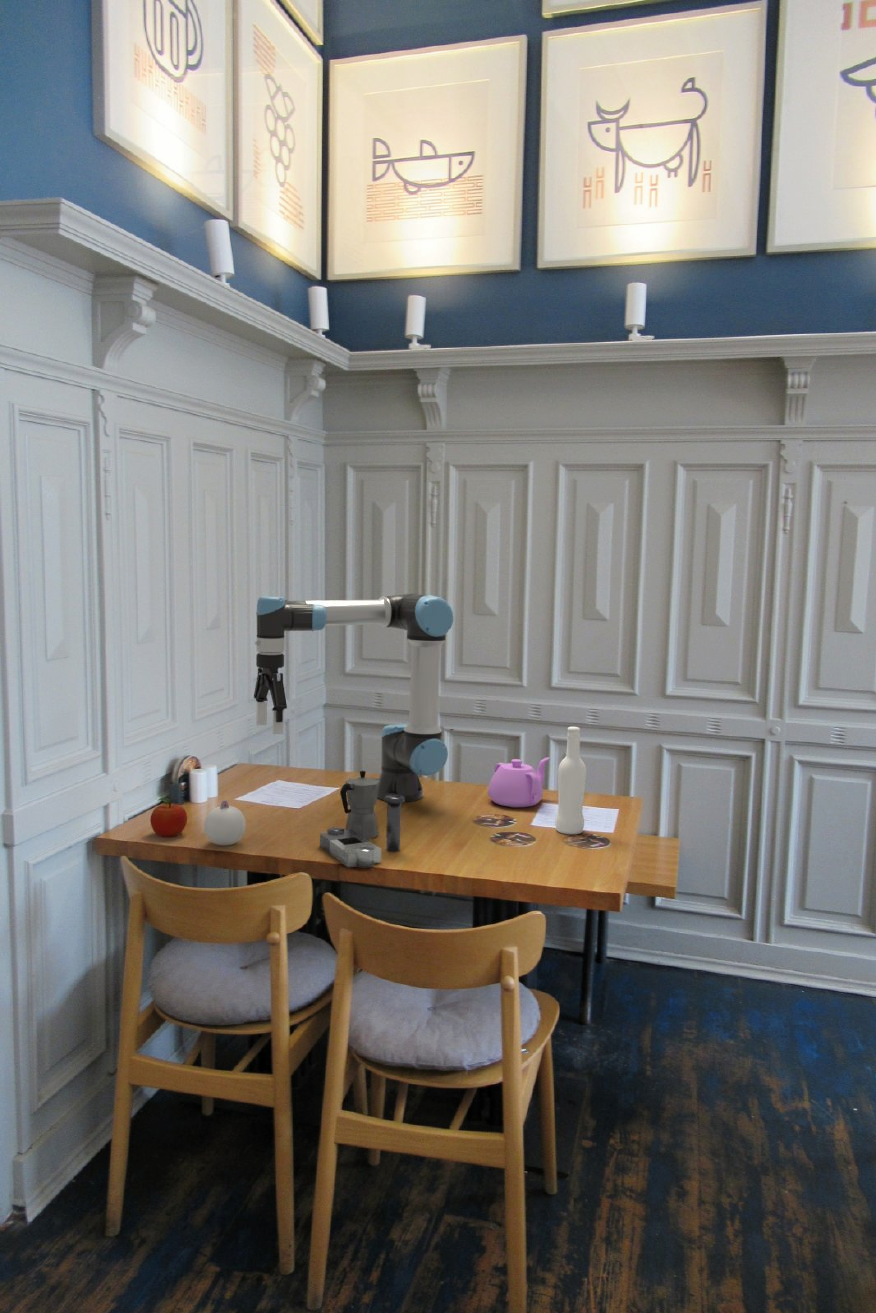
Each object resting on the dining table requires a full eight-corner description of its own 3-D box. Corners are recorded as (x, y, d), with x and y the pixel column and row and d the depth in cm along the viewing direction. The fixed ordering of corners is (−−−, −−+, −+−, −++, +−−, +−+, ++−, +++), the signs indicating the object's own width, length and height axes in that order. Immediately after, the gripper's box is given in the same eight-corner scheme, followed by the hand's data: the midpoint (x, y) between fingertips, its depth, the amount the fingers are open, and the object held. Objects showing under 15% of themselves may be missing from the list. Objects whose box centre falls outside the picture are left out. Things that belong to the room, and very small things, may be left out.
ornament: (225, 853, 242) (225, 807, 241) (196, 845, 248) (196, 800, 246) (253, 843, 251) (253, 798, 249) (224, 836, 256) (224, 792, 255)
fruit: (173, 842, 250) (173, 805, 249) (143, 837, 253) (143, 800, 252) (194, 832, 259) (194, 796, 258) (165, 827, 262) (165, 792, 261)
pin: (397, 845, 253) (398, 793, 251) (406, 850, 248) (407, 798, 247) (379, 847, 250) (381, 795, 249) (388, 853, 246) (390, 800, 244)
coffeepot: (363, 826, 269) (364, 763, 267) (389, 832, 264) (391, 769, 262) (327, 838, 256) (328, 773, 254) (353, 846, 251) (355, 779, 249)
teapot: (569, 806, 297) (572, 762, 296) (515, 815, 285) (517, 770, 284) (525, 790, 315) (526, 749, 314) (472, 798, 303) (473, 755, 302)
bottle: (586, 828, 273) (591, 726, 270) (580, 836, 266) (586, 730, 262) (558, 825, 276) (563, 723, 272) (552, 832, 268) (557, 728, 265)
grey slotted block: (347, 839, 256) (348, 825, 256) (384, 865, 237) (385, 849, 236) (316, 844, 252) (316, 829, 251) (351, 870, 232) (352, 854, 232)
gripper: (243, 648, 270) (242, 722, 272) (272, 658, 248) (271, 738, 251) (268, 647, 273) (267, 720, 276) (299, 657, 252) (298, 736, 254)
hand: (269, 729), depth 263 cm, fingers open, 13 cm apart
